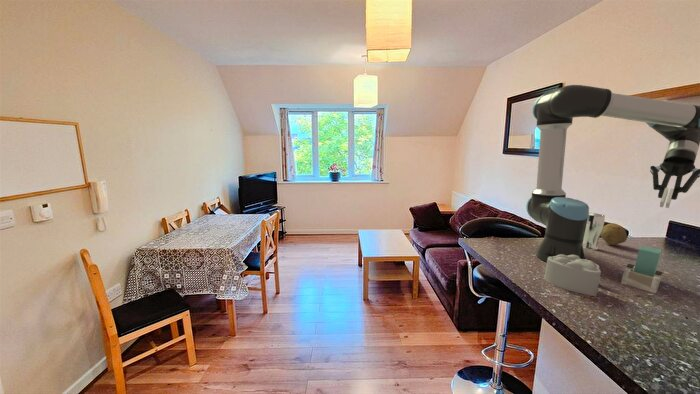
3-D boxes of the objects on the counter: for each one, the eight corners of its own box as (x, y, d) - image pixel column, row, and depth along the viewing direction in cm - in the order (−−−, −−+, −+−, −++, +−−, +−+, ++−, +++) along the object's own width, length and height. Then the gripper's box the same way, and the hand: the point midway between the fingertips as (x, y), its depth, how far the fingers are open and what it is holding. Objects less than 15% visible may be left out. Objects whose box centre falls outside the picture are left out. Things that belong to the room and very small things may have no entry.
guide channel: (624, 273, 98) (627, 257, 97) (666, 284, 91) (671, 267, 90) (614, 286, 89) (617, 268, 88) (660, 300, 81) (665, 281, 80)
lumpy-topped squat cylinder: (597, 297, 81) (603, 269, 80) (543, 283, 89) (547, 257, 87) (594, 284, 90) (599, 258, 88) (545, 272, 97) (549, 248, 96)
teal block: (635, 273, 95) (642, 245, 93) (654, 278, 92) (661, 249, 90) (632, 278, 91) (639, 249, 90) (651, 284, 88) (659, 253, 86)
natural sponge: (591, 241, 132) (595, 220, 130) (609, 241, 133) (613, 220, 131) (611, 248, 123) (615, 226, 122) (629, 248, 124) (634, 226, 122)
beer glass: (597, 247, 124) (603, 214, 121) (600, 252, 118) (607, 217, 116) (577, 243, 128) (583, 211, 125) (579, 248, 122) (585, 214, 119)
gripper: (708, 164, 101) (693, 215, 94) (653, 161, 111) (636, 207, 104) (712, 149, 97) (697, 201, 90) (654, 147, 107) (637, 194, 100)
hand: (664, 204), depth 97 cm, fingers closed
